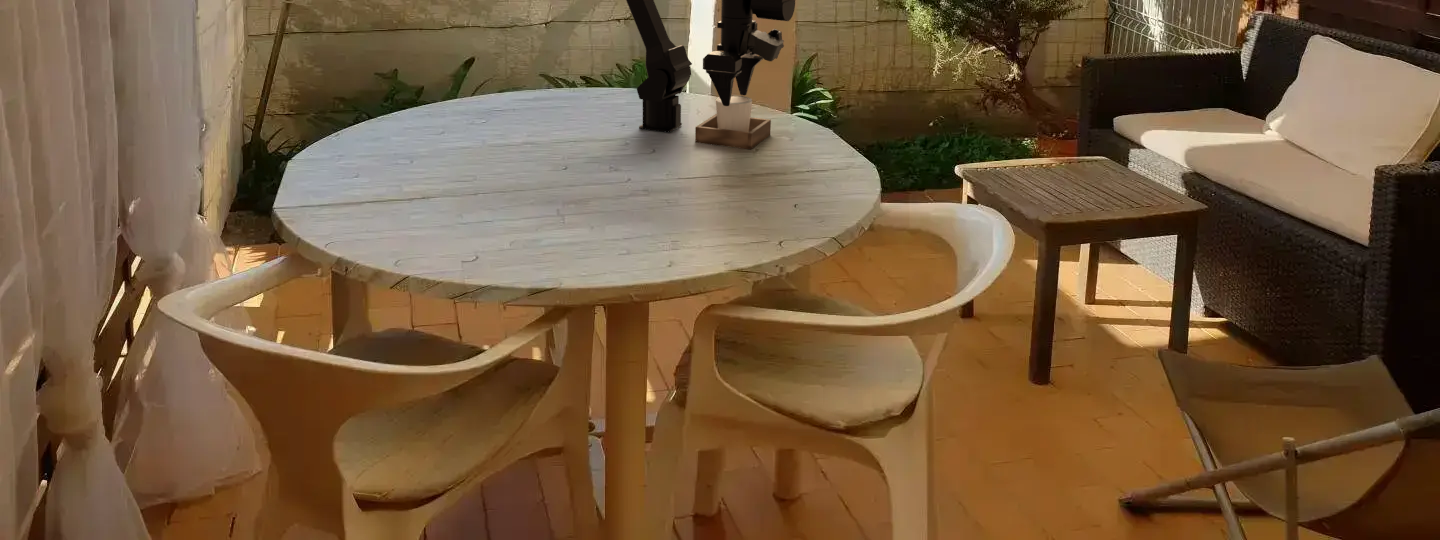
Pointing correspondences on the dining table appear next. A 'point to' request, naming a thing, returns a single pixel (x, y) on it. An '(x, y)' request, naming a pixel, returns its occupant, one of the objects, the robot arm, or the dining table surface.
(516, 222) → the dining table surface
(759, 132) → the walnut crate
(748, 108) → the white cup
